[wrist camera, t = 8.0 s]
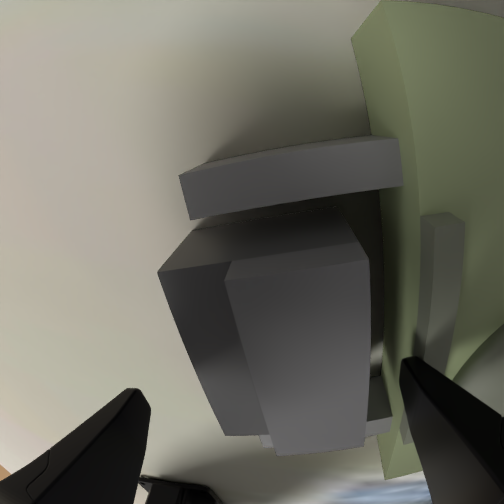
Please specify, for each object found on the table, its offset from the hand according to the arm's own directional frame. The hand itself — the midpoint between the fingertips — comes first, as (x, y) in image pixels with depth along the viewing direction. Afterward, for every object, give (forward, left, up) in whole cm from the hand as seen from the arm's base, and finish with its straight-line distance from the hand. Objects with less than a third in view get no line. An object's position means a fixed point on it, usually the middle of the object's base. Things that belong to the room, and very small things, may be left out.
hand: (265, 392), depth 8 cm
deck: (0, -6, -4) cm, 7 cm away
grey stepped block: (0, 0, -4) cm, 4 cm away
